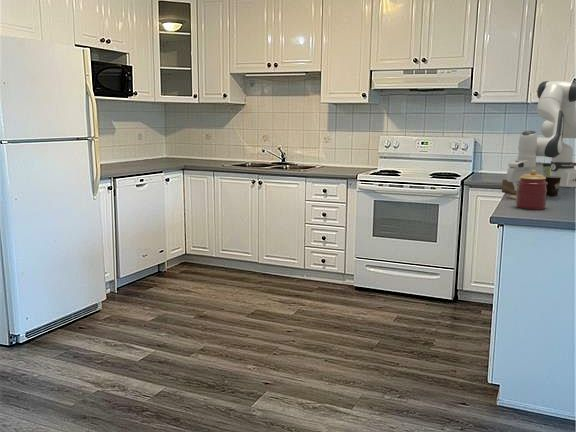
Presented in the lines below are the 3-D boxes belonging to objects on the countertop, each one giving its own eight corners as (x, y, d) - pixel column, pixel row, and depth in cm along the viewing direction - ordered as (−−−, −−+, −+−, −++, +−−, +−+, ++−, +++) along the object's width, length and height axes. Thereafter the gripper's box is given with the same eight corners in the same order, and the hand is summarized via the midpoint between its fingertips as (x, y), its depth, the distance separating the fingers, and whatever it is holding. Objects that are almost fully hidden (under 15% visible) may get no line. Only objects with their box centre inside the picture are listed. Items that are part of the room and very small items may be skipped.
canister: (525, 204, 268) (527, 167, 264) (551, 207, 257) (554, 170, 254) (509, 207, 260) (512, 169, 257) (536, 211, 250) (539, 172, 246)
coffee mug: (554, 194, 298) (555, 175, 296) (562, 196, 290) (564, 177, 288) (532, 194, 298) (534, 175, 296) (540, 196, 289) (542, 177, 287)
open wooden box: (520, 191, 309) (520, 178, 307) (535, 194, 297) (536, 181, 296) (501, 192, 305) (502, 179, 304) (516, 195, 294) (517, 182, 293)
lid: (525, 196, 294) (526, 187, 293) (543, 200, 282) (543, 190, 281) (504, 197, 290) (505, 188, 289) (521, 201, 278) (522, 191, 277)
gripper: (538, 162, 288) (536, 188, 291) (505, 163, 283) (503, 190, 285) (547, 163, 282) (545, 189, 285) (514, 164, 277) (512, 191, 279)
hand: (524, 190), depth 285 cm, fingers open, 8 cm apart
